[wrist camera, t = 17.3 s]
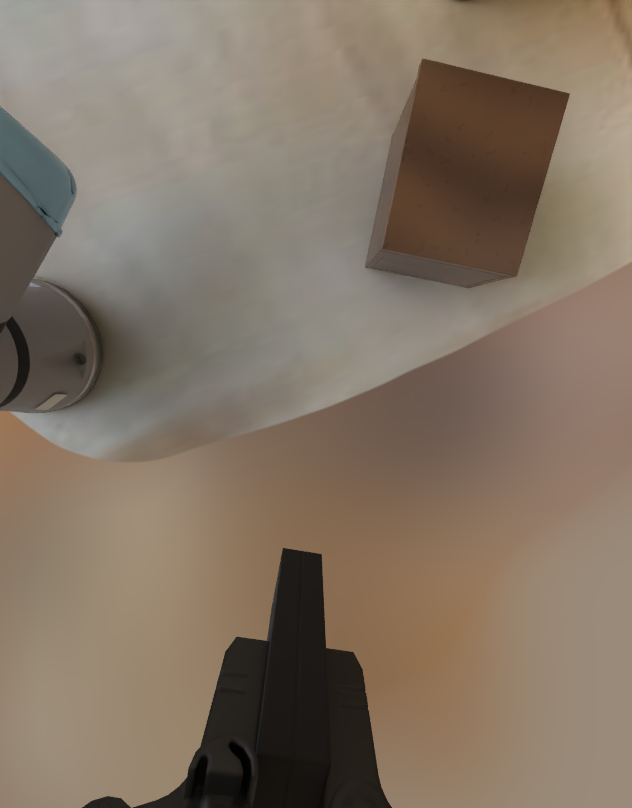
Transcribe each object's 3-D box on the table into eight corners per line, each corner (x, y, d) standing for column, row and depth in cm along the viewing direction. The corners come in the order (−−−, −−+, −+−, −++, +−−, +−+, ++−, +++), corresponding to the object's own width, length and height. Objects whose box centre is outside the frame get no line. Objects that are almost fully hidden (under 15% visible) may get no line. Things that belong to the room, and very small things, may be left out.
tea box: (392, 135, 37) (416, 78, 28) (503, 160, 38) (559, 111, 29) (365, 267, 40) (379, 250, 31) (469, 288, 40) (511, 277, 32)
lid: (419, 65, 28) (422, 57, 27) (563, 99, 29) (570, 93, 28) (380, 250, 31) (381, 248, 30) (511, 277, 32) (516, 276, 31)
